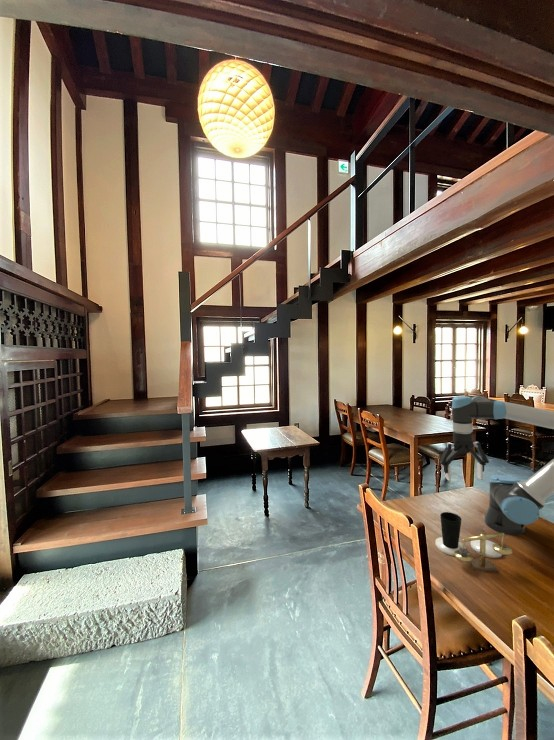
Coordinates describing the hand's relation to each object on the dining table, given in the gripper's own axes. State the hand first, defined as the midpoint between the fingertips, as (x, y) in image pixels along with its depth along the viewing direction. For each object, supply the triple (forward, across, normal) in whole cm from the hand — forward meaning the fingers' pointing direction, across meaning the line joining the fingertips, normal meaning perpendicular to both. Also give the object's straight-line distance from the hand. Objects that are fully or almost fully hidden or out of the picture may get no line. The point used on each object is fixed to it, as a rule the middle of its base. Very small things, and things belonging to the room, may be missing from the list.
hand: (464, 479), depth 138 cm
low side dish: (+25, +12, +10) cm, 29 cm away
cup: (+24, +11, +9) cm, 28 cm away
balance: (+25, +5, +21) cm, 33 cm away
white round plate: (+25, -2, +10) cm, 27 cm away
